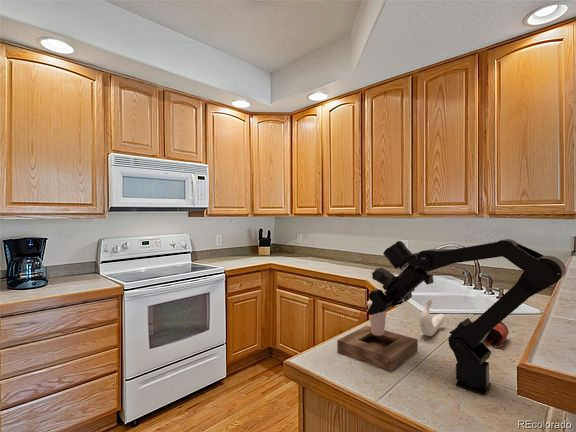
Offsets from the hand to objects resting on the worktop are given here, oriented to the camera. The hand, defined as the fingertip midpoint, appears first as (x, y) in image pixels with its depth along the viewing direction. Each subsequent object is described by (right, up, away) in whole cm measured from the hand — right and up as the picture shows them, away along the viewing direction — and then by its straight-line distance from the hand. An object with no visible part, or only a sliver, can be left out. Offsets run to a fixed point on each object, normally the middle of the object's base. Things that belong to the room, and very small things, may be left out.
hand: (373, 311), depth 99 cm
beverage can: (+43, -13, +7) cm, 45 cm away
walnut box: (+1, -13, -1) cm, 13 cm away
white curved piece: (+25, -13, +14) cm, 31 cm away
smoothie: (+1, -7, -1) cm, 7 cm away
